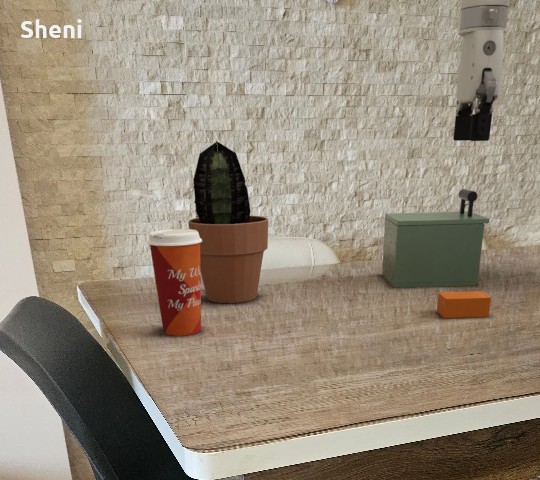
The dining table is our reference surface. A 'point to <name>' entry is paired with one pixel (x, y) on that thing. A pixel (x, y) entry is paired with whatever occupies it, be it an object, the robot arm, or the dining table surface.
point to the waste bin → (432, 254)
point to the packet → (463, 304)
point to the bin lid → (442, 214)
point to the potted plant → (227, 228)
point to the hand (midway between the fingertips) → (470, 140)
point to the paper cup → (177, 279)
